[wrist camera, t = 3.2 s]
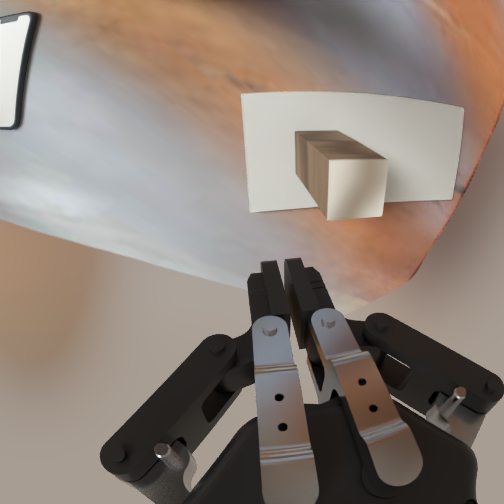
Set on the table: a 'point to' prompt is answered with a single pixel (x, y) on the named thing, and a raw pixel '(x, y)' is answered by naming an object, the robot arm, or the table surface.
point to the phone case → (14, 64)
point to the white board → (358, 128)
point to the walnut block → (341, 174)
